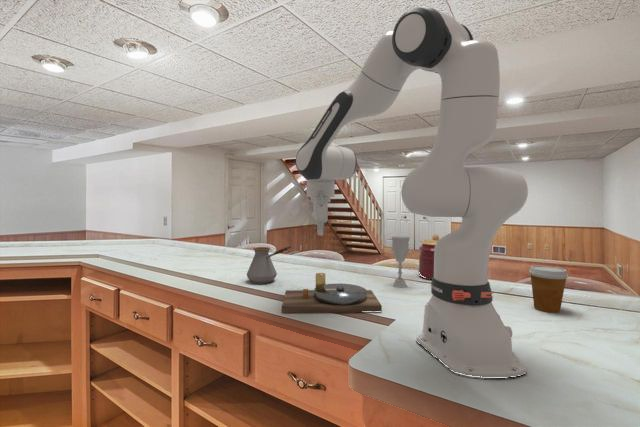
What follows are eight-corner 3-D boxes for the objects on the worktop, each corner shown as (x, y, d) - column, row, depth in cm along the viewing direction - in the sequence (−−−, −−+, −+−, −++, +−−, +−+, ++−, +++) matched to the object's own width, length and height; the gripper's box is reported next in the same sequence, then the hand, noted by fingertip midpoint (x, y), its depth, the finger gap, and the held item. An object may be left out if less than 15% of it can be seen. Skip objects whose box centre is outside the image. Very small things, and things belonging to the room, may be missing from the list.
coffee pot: (240, 281, 129) (240, 242, 128) (263, 276, 138) (262, 240, 137) (279, 291, 115) (279, 248, 115) (301, 285, 124) (302, 244, 124)
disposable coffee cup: (520, 306, 101) (521, 266, 100) (542, 302, 104) (543, 264, 103) (551, 316, 92) (553, 273, 91) (575, 312, 95) (576, 270, 95)
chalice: (409, 288, 120) (410, 238, 119) (390, 287, 121) (391, 238, 120) (408, 283, 127) (409, 236, 126) (390, 282, 128) (391, 235, 127)
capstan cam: (361, 289, 110) (361, 268, 110) (371, 304, 94) (371, 280, 94) (313, 289, 110) (313, 268, 109) (314, 305, 94) (314, 280, 93)
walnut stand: (381, 312, 94) (381, 297, 94) (281, 313, 94) (281, 297, 93) (371, 295, 110) (371, 282, 110) (286, 296, 110) (286, 283, 109)
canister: (412, 277, 137) (413, 234, 136) (427, 272, 146) (428, 232, 146) (443, 282, 128) (444, 237, 127) (457, 277, 137) (458, 234, 137)
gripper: (332, 190, 96) (332, 238, 96) (328, 192, 116) (328, 232, 117) (310, 190, 96) (310, 238, 96) (310, 192, 116) (310, 232, 116)
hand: (320, 235), depth 106 cm, fingers closed
